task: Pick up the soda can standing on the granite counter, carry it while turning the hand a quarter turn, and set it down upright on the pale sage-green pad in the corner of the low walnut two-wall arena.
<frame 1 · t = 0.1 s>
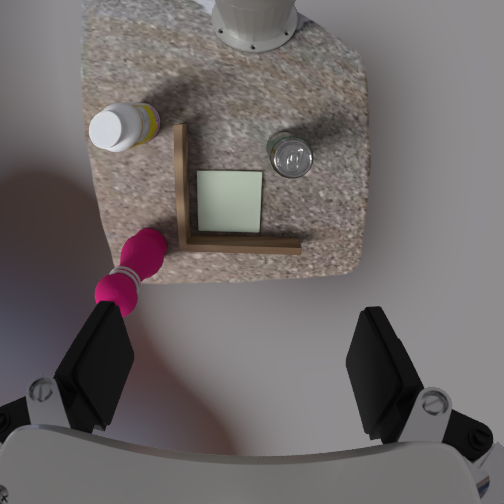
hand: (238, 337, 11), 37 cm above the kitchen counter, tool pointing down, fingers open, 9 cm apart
pepper mill: (150, 243, 50), on the kitchen counter
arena: (187, 237, 49), on the kitchen counter
supplement bottle: (142, 123, 40), on the kitchen counter
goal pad: (229, 201, 46), on the kitchen counter
soda can: (282, 147, 42), on the kitchen counter
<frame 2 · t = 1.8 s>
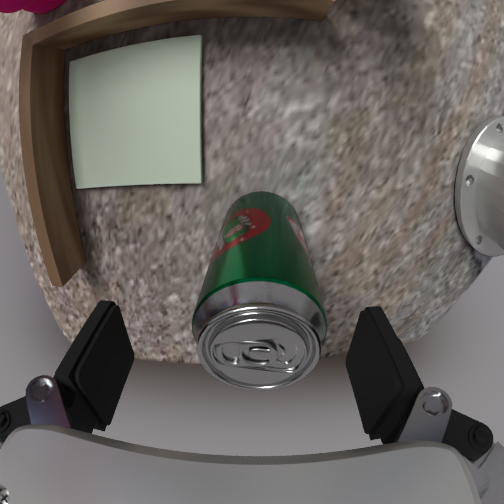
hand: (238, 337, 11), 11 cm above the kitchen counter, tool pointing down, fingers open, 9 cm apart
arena: (60, 45, 14), on the kitchen counter
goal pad: (130, 113, 17), on the kitchen counter
soda can: (261, 223, 20), on the kitchen counter
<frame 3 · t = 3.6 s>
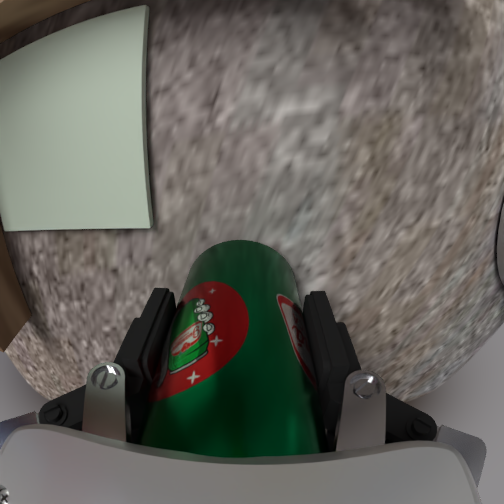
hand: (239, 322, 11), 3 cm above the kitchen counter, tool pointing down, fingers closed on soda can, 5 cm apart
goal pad: (54, 129, 10), on the kitchen counter
soda can: (241, 280, 14), on the kitchen counter, touching gripper
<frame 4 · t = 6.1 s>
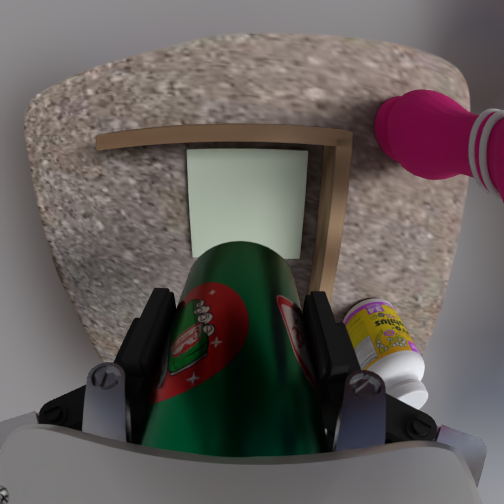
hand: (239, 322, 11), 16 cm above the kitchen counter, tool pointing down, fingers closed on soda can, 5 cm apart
pepper mill: (402, 129, 22), on the kitchen counter
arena: (331, 135, 23), on the kitchen counter
supplement bottle: (366, 317, 31), on the kitchen counter
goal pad: (246, 204, 25), on the kitchen counter
soda can: (241, 281, 14), point 12 cm above the kitchen counter, touching gripper
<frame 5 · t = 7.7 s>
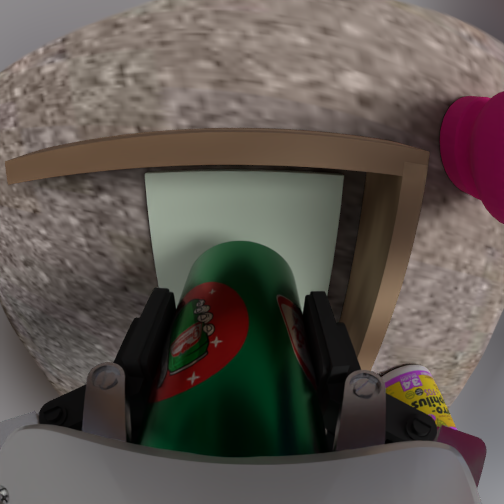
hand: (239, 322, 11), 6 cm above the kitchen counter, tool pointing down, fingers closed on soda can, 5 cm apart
pepper mill: (472, 144, 13), on the kitchen counter
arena: (378, 149, 13), on the kitchen counter
supplement bottle: (395, 383, 22), on the kitchen counter
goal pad: (243, 258, 16), on the kitchen counter
soda can: (241, 281, 14), point 2 cm above the kitchen counter, touching gripper
when the fingers open (5 cm above the kitchen counter, at t = 8.7 s): soda can drops 1 cm, resting on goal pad.
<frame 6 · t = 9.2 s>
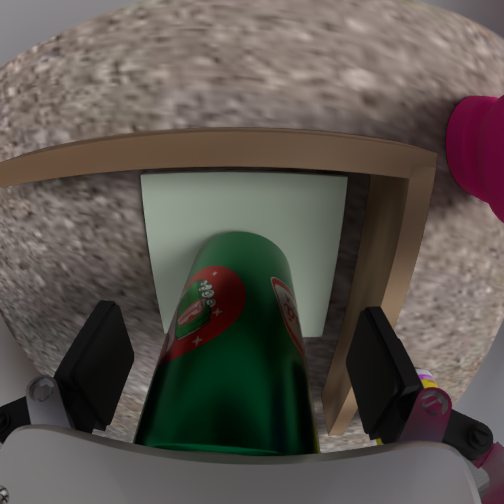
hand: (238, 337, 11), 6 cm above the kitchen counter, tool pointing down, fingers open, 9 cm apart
pepper mill: (478, 145, 12), on the kitchen counter
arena: (383, 150, 13), on the kitchen counter
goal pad: (242, 262, 16), on the kitchen counter
soda can: (241, 269, 16), resting on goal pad
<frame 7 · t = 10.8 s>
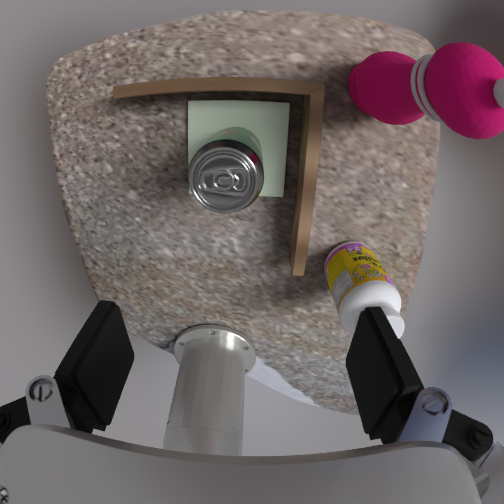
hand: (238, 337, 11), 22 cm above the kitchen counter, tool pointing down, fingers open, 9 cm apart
pepper mill: (374, 88, 25), on the kitchen counter
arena: (309, 91, 25), on the kitchen counter
supplement bottle: (348, 261, 35), on the kitchen counter
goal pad: (237, 147, 28), on the kitchen counter
soda can: (236, 150, 28), resting on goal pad
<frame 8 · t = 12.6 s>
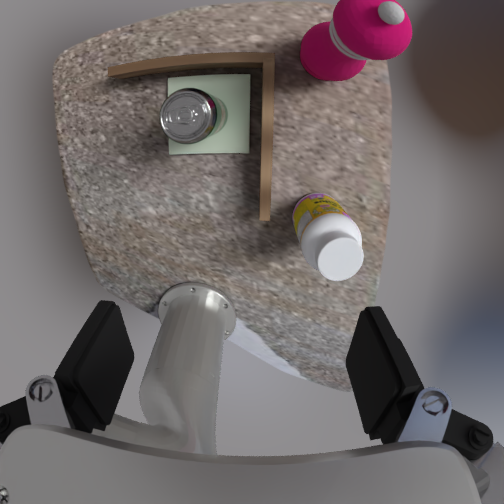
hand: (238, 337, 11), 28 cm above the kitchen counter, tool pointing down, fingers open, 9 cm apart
pepper mill: (324, 58, 29), on the kitchen counter
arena: (267, 63, 29), on the kitchen counter
supplement bottle: (315, 214, 38), on the kitchen counter
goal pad: (208, 113, 32), on the kitchen counter
soda can: (207, 115, 32), resting on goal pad
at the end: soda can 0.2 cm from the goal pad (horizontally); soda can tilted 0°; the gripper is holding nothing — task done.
